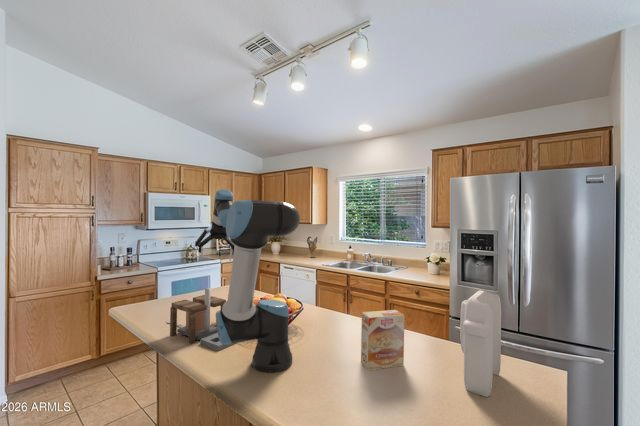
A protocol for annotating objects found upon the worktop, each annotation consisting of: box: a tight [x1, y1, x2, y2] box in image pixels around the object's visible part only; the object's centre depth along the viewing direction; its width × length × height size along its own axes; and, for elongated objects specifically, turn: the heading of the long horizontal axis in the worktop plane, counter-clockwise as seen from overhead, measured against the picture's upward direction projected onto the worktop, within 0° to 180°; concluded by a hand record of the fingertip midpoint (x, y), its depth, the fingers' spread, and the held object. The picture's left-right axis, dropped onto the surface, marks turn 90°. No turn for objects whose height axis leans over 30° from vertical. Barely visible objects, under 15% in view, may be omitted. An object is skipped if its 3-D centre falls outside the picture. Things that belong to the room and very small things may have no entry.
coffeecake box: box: [360, 309, 405, 371], centre depth 117 cm, size 15×7×20 cm, turn 105°
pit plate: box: [200, 333, 236, 352], centre depth 136 cm, size 12×14×2 cm
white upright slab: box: [459, 289, 503, 398], centre depth 107 cm, size 27×11×30 cm, turn 141°
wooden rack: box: [165, 294, 227, 345], centre depth 150 cm, size 36×19×15 cm, turn 57°
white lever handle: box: [177, 287, 218, 341], centre depth 145 cm, size 16×12×21 cm
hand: (215, 258), depth 151 cm, fingers open, 13 cm apart
